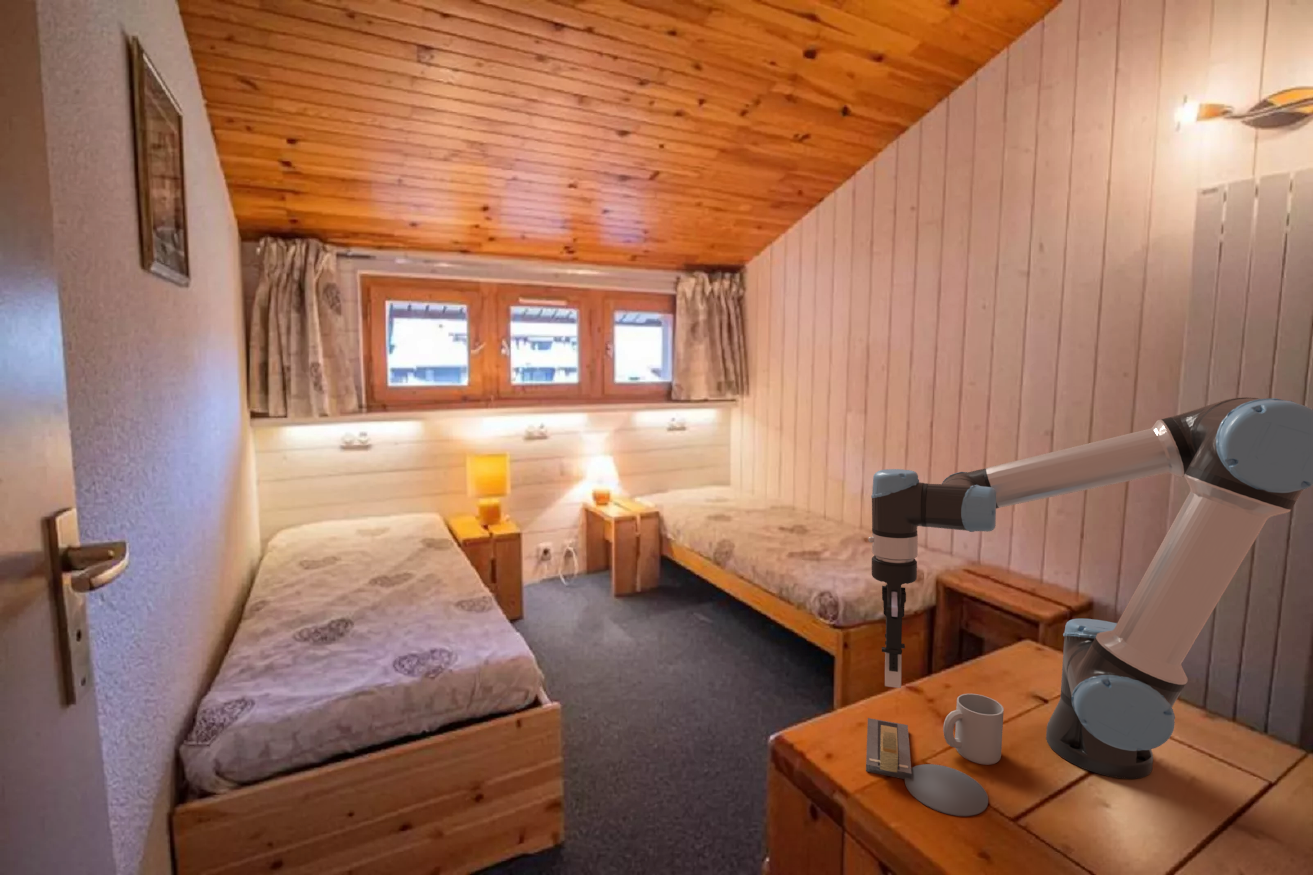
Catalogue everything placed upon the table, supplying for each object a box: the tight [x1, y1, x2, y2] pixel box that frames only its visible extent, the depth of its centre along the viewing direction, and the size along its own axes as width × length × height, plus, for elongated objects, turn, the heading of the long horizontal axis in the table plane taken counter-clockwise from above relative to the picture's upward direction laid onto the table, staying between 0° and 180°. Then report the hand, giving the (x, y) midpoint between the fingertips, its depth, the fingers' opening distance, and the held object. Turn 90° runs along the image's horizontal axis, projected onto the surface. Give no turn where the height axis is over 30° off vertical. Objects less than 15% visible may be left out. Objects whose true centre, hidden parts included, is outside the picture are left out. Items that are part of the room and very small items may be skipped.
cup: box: [942, 693, 1005, 766], centre depth 107 cm, size 7×10×9 cm
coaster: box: [904, 763, 989, 817], centre depth 98 cm, size 12×12×1 cm
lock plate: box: [865, 717, 912, 780], centre depth 108 cm, size 7×15×1 cm, turn 160°
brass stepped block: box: [880, 725, 898, 773], centre depth 103 cm, size 3×8×5 cm, turn 160°
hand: (892, 685), depth 111 cm, fingers closed
